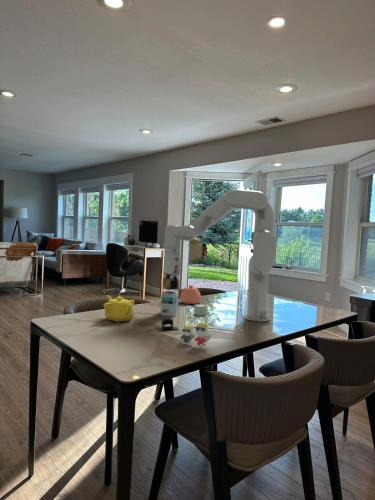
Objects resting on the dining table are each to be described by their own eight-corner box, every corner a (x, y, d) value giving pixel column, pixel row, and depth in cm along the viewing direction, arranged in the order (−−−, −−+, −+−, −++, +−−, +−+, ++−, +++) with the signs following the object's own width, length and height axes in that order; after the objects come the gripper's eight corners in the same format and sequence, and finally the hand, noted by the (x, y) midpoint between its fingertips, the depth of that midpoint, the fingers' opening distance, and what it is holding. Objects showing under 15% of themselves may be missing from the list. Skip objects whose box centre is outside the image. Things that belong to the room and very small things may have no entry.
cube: (206, 315, 176) (207, 306, 175) (198, 315, 174) (199, 306, 173) (202, 313, 180) (202, 304, 179) (194, 313, 178) (194, 304, 177)
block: (178, 289, 173) (179, 279, 173) (167, 289, 171) (168, 279, 170) (173, 287, 179) (173, 277, 178) (162, 287, 176) (162, 277, 176)
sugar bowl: (178, 304, 198) (179, 286, 197) (180, 300, 212) (181, 282, 211) (201, 305, 197) (201, 287, 197) (200, 301, 211) (201, 283, 211)
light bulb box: (174, 316, 169) (175, 294, 169) (160, 315, 170) (161, 293, 170) (178, 311, 180) (179, 290, 179) (165, 310, 181) (166, 289, 181)
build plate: (154, 333, 142) (154, 321, 142) (150, 328, 149) (150, 317, 149) (184, 331, 146) (184, 320, 146) (178, 327, 153) (179, 316, 153)
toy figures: (178, 343, 130) (179, 320, 129) (185, 340, 133) (186, 318, 133) (206, 350, 123) (207, 326, 123) (213, 347, 127) (214, 323, 126)
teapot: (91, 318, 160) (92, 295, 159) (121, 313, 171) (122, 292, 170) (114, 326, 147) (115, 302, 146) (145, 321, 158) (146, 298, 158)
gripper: (187, 251, 168) (185, 290, 169) (171, 249, 183) (170, 284, 184) (173, 251, 164) (171, 290, 165) (158, 249, 180) (156, 285, 180)
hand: (170, 287), depth 175 cm, fingers closed on block, 6 cm apart
